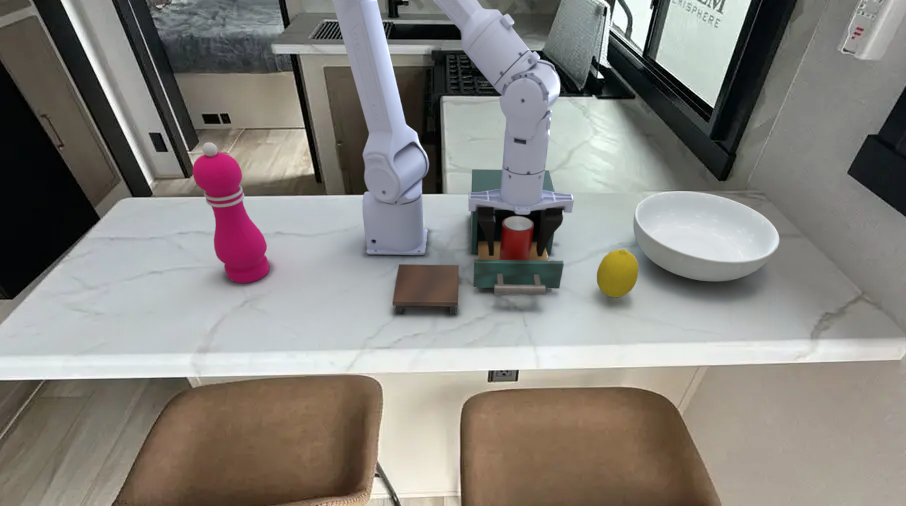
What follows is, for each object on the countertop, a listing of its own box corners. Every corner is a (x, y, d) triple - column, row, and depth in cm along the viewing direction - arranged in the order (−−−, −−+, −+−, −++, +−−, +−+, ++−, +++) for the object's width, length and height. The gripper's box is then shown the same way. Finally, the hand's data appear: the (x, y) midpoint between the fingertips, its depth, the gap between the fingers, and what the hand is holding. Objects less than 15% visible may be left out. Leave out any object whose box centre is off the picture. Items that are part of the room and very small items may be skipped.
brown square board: (393, 315, 72) (392, 301, 70) (399, 277, 78) (398, 264, 77) (457, 316, 71) (458, 302, 70) (458, 278, 78) (458, 264, 76)
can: (499, 271, 77) (503, 231, 72) (498, 254, 80) (501, 215, 76) (530, 271, 77) (535, 231, 72) (527, 254, 80) (532, 215, 76)
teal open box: (471, 253, 83) (472, 203, 77) (470, 217, 92) (472, 169, 86) (550, 254, 83) (558, 204, 77) (542, 218, 92) (549, 170, 86)
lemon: (632, 289, 76) (645, 243, 71) (628, 311, 72) (643, 264, 67) (594, 282, 78) (605, 236, 72) (589, 303, 74) (600, 256, 68)
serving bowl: (664, 308, 73) (679, 268, 69) (604, 233, 88) (612, 196, 84) (791, 290, 76) (813, 251, 72) (712, 221, 92) (726, 185, 87)
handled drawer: (473, 304, 72) (474, 278, 69) (472, 244, 83) (473, 220, 81) (563, 305, 72) (568, 280, 69) (549, 245, 83) (553, 221, 80)
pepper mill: (282, 265, 80) (249, 138, 67) (250, 290, 75) (208, 158, 62) (246, 254, 83) (207, 128, 69) (213, 278, 78) (164, 147, 64)
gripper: (469, 178, 65) (467, 266, 74) (583, 179, 65) (566, 268, 74) (469, 155, 70) (467, 241, 80) (574, 157, 70) (560, 242, 79)
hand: (515, 252), depth 77 cm, fingers open, 7 cm apart
